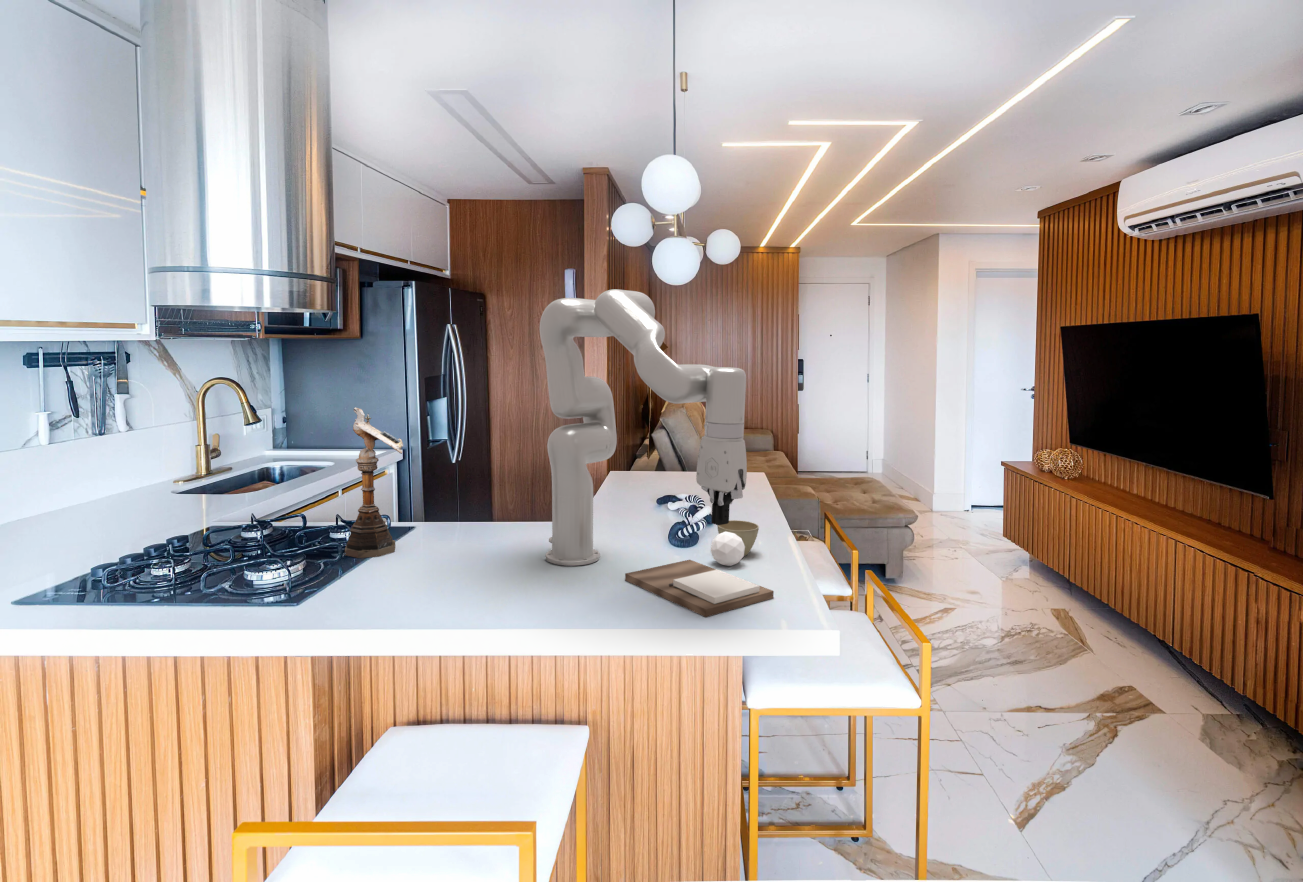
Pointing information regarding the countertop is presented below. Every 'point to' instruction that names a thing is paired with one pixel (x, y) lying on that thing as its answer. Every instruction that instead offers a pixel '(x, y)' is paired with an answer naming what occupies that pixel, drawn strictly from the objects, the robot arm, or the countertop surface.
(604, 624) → the countertop surface
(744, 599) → the board
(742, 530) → the tan round bowl
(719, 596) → the tile
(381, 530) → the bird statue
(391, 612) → the countertop surface
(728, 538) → the ball
